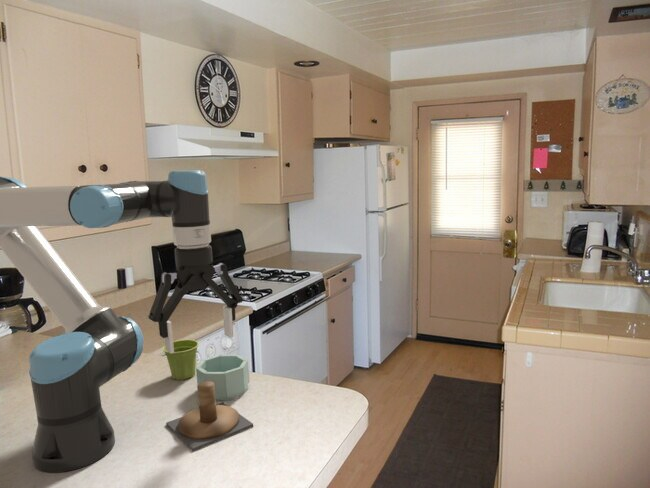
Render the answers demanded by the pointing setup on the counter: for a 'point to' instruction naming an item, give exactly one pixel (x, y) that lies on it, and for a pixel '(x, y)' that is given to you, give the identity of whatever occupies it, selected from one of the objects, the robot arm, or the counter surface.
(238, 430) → the mat
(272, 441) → the counter surface
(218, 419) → the lid
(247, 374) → the bowl
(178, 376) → the plant pot
